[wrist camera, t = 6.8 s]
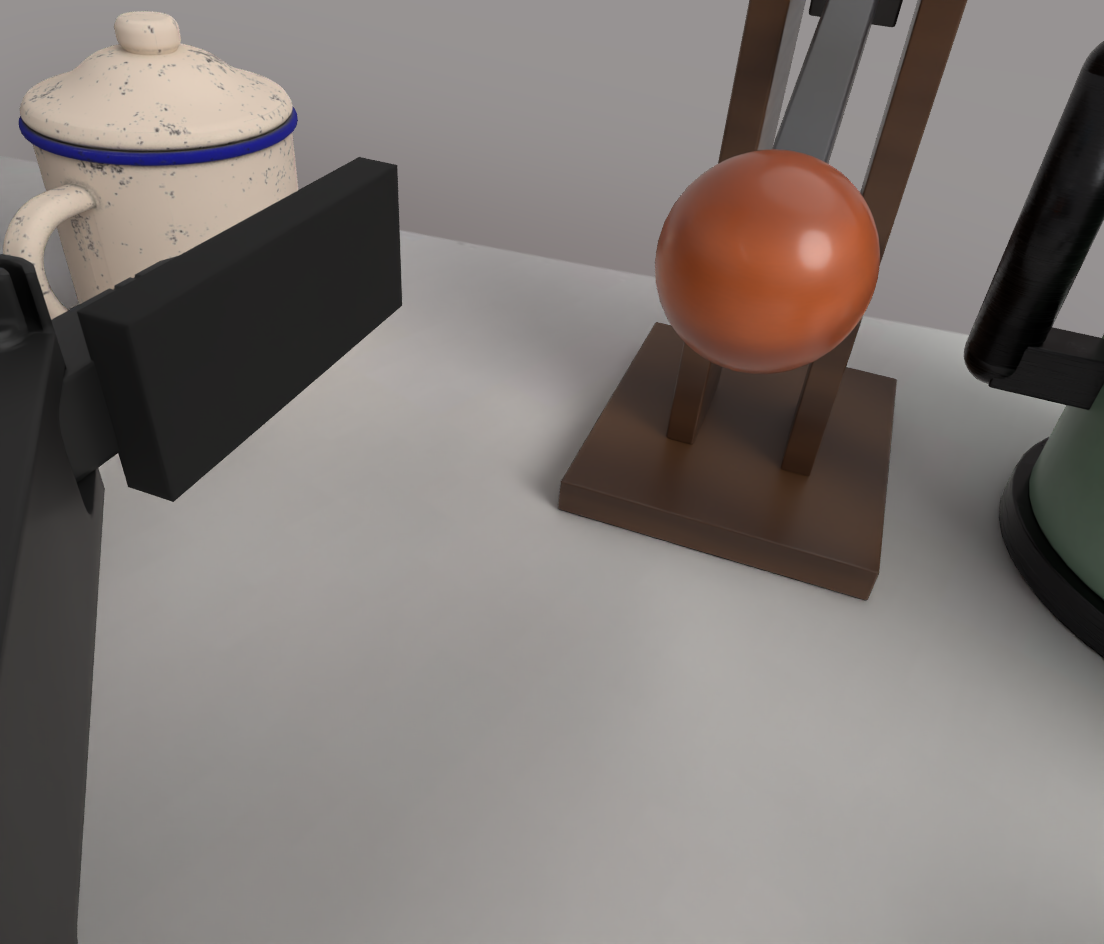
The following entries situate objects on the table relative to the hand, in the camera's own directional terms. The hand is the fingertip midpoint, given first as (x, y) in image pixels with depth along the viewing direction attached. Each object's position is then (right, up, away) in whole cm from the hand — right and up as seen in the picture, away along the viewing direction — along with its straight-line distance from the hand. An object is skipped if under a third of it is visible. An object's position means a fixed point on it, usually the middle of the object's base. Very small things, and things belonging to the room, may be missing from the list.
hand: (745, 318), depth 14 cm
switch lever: (+3, +5, +6) cm, 8 cm away
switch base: (+4, -2, +17) cm, 18 cm away
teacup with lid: (-18, +2, +20) cm, 27 cm away
